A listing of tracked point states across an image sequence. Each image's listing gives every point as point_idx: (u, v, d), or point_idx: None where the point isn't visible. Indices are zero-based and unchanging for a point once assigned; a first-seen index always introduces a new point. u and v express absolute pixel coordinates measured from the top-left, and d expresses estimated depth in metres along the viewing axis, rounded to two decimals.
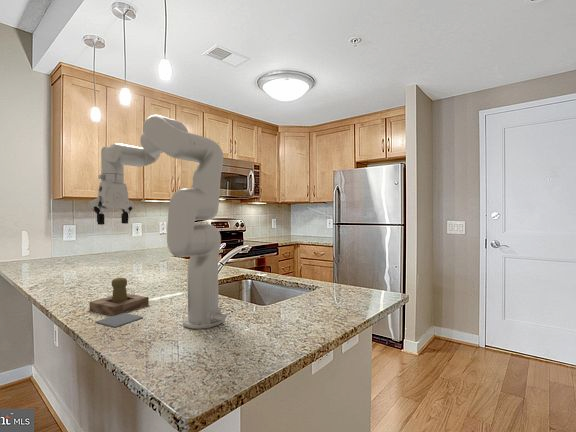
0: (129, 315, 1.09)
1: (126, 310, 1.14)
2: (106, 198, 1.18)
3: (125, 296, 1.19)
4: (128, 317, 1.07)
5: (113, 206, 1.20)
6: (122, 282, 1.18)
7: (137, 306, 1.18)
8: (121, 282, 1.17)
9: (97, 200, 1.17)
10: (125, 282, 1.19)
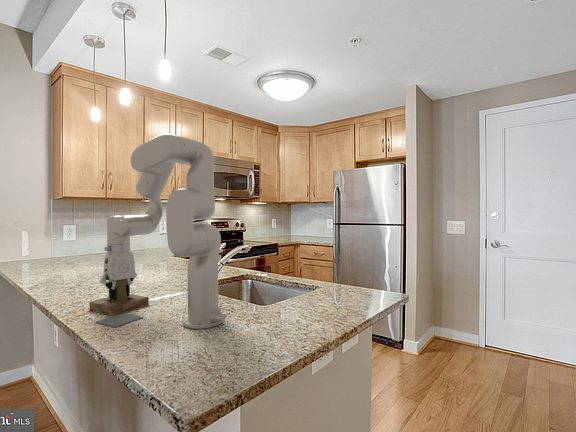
0: (129, 315, 1.09)
1: (126, 310, 1.14)
2: (112, 271, 1.14)
3: (125, 296, 1.19)
4: (128, 317, 1.07)
5: (119, 278, 1.16)
6: (122, 282, 1.18)
7: (137, 306, 1.18)
8: (121, 282, 1.17)
9: (106, 276, 1.14)
10: (125, 282, 1.19)
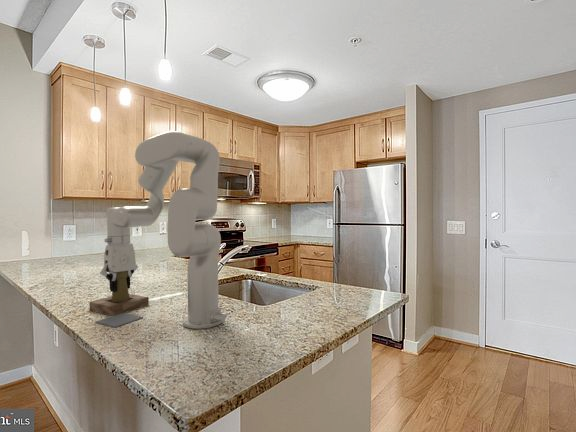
0: (129, 315, 1.09)
1: (126, 310, 1.14)
2: (113, 262, 1.14)
3: (126, 288, 1.19)
4: (128, 317, 1.07)
5: (120, 270, 1.16)
6: (122, 274, 1.17)
7: (137, 306, 1.18)
8: (121, 274, 1.17)
9: (106, 268, 1.14)
10: (126, 274, 1.19)
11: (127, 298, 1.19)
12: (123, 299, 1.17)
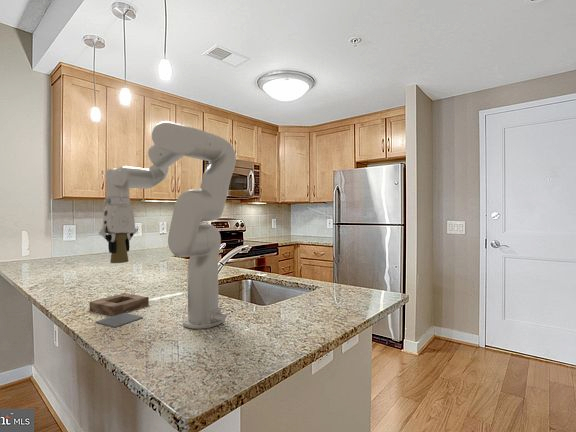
0: (129, 315, 1.09)
1: (126, 310, 1.14)
2: (112, 223, 1.13)
3: (125, 250, 1.18)
4: (128, 317, 1.07)
5: (119, 231, 1.15)
6: (121, 235, 1.17)
7: (137, 306, 1.18)
8: (120, 235, 1.17)
9: (105, 228, 1.13)
10: (125, 236, 1.18)
11: (126, 260, 1.18)
12: (122, 261, 1.16)
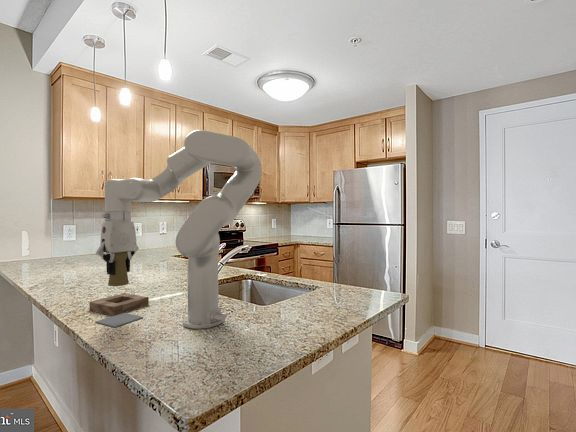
0: (129, 315, 1.09)
1: (126, 310, 1.14)
2: (110, 241, 1.00)
3: (125, 271, 1.05)
4: (128, 317, 1.07)
5: (119, 250, 1.02)
6: (121, 255, 1.03)
7: (137, 306, 1.18)
8: (120, 255, 1.03)
9: (103, 247, 1.00)
10: (125, 255, 1.05)
11: (126, 282, 1.05)
12: (121, 283, 1.03)
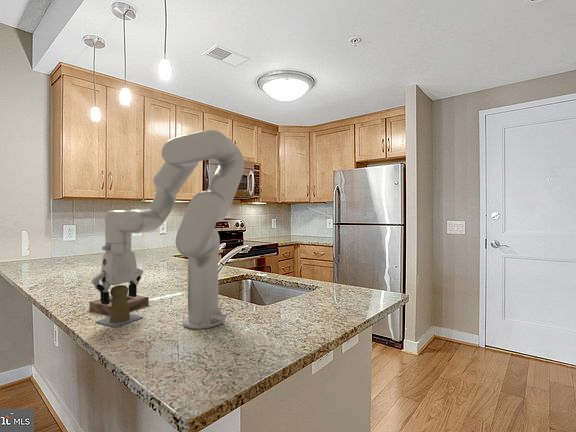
0: None
1: None
2: (111, 273, 1.00)
3: (126, 306, 1.05)
4: None
5: (119, 281, 1.02)
6: (122, 290, 1.03)
7: (137, 306, 1.18)
8: (121, 290, 1.03)
9: (101, 277, 0.99)
10: (126, 290, 1.05)
11: (127, 318, 1.05)
12: (123, 319, 1.03)
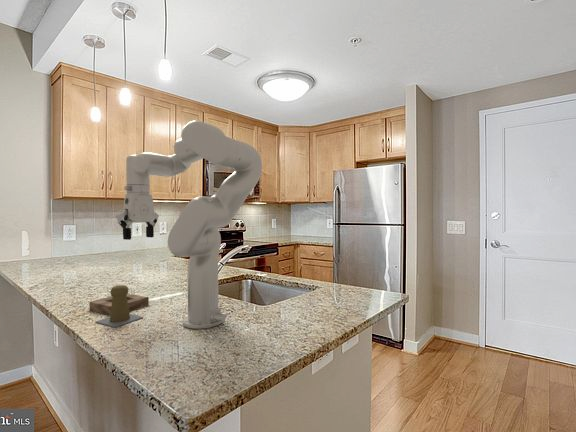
0: None
1: None
2: (133, 211, 1.10)
3: (126, 306, 1.05)
4: None
5: (140, 219, 1.12)
6: (122, 290, 1.03)
7: (137, 306, 1.18)
8: (121, 290, 1.03)
9: (124, 213, 1.08)
10: (126, 290, 1.05)
11: (127, 318, 1.05)
12: (123, 319, 1.03)
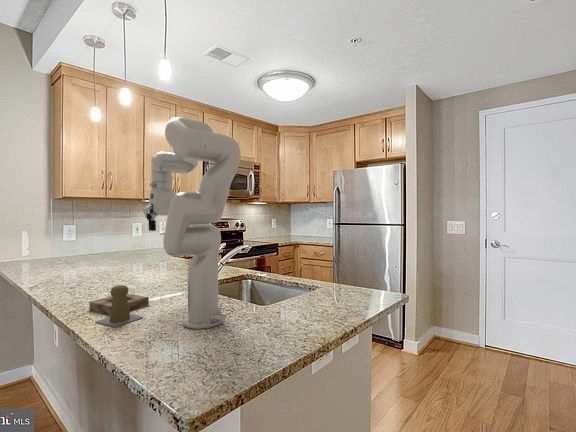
0: None
1: None
2: (157, 205, 1.23)
3: (126, 306, 1.05)
4: None
5: (163, 213, 1.25)
6: (122, 290, 1.03)
7: (137, 306, 1.18)
8: (121, 290, 1.03)
9: (149, 207, 1.22)
10: (126, 290, 1.05)
11: (127, 318, 1.05)
12: (123, 319, 1.03)
